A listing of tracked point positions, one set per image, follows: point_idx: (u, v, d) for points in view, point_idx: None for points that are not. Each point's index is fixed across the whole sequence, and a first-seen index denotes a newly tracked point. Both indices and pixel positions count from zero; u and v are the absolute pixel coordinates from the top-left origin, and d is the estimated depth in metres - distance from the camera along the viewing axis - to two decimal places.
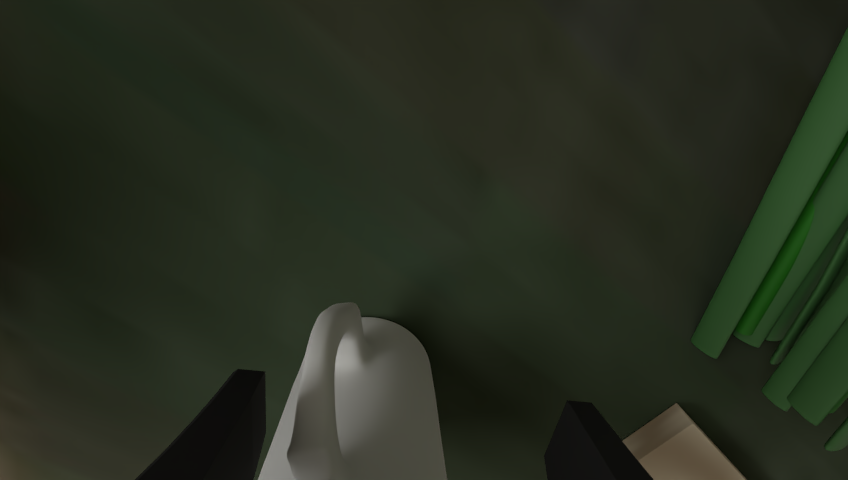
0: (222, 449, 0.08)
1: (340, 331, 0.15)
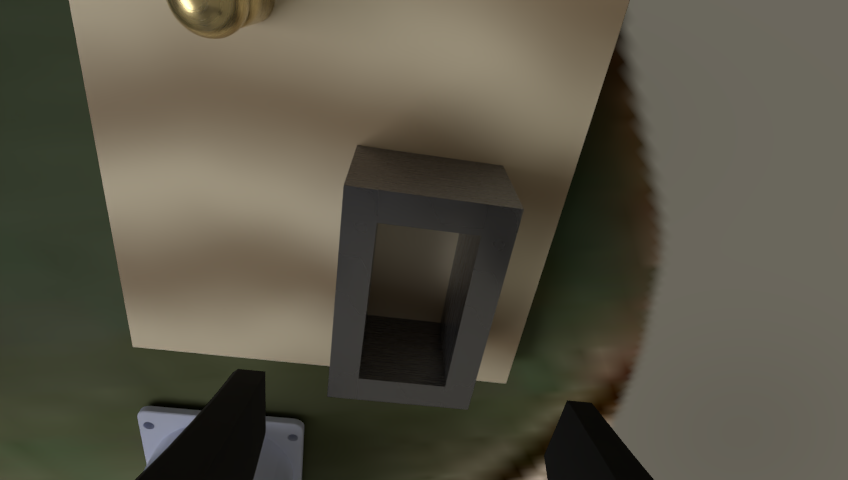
0: (222, 449, 0.08)
1: None
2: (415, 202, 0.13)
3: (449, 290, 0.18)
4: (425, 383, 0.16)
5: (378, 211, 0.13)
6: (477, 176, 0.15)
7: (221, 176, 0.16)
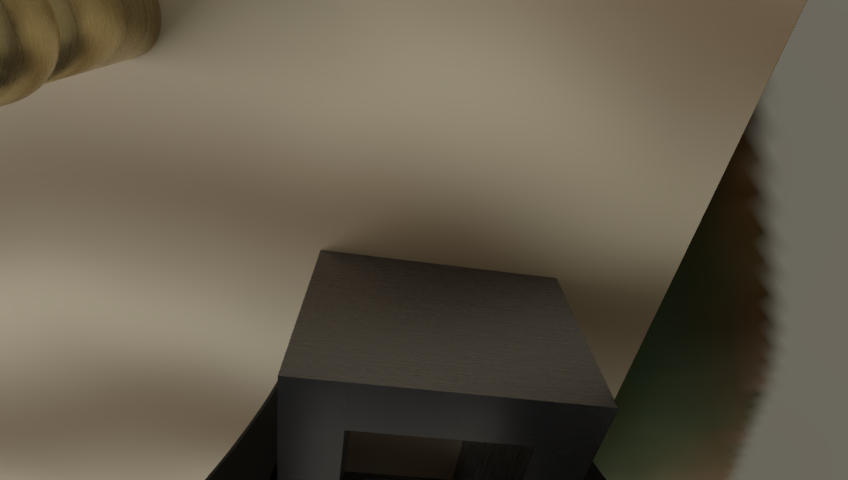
0: None
1: None
2: (416, 401, 0.07)
3: (467, 449, 0.12)
4: None
5: (346, 414, 0.07)
6: (521, 313, 0.09)
7: (104, 296, 0.10)
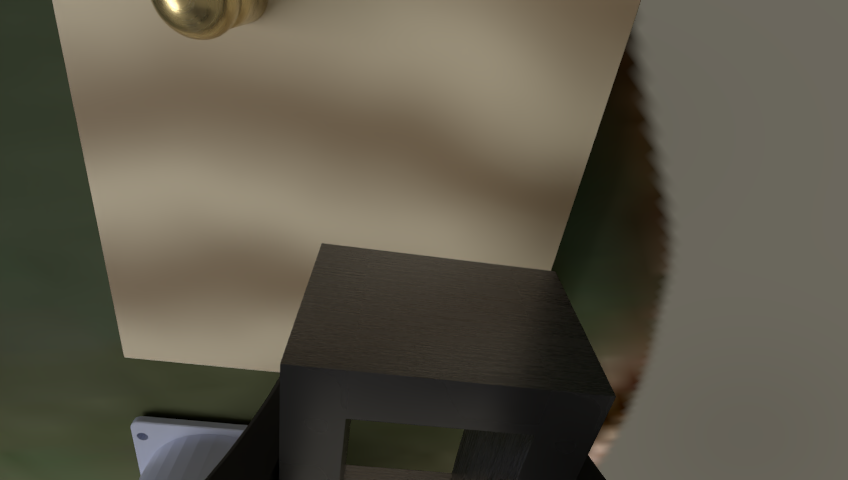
0: None
1: None
2: (416, 389, 0.07)
3: (467, 442, 0.12)
4: None
5: (347, 402, 0.07)
6: (520, 305, 0.09)
7: (213, 183, 0.16)
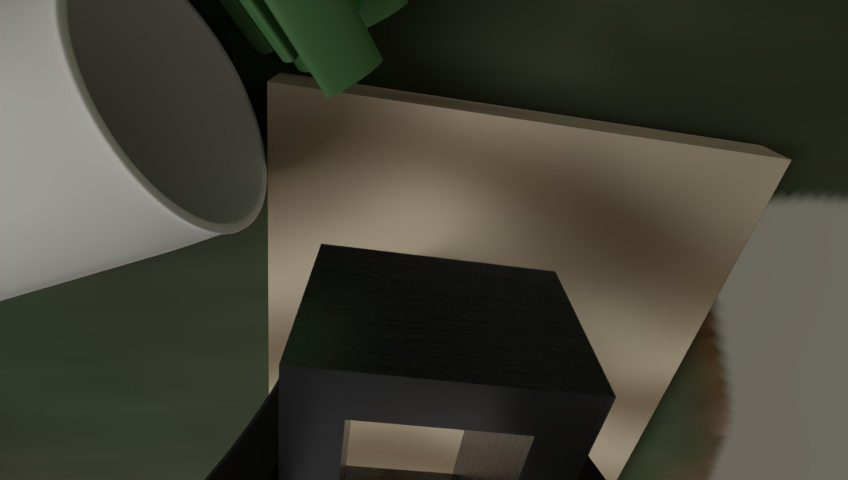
0: None
1: None
2: (415, 390, 0.07)
3: (467, 442, 0.12)
4: None
5: (347, 403, 0.07)
6: (520, 305, 0.09)
7: None
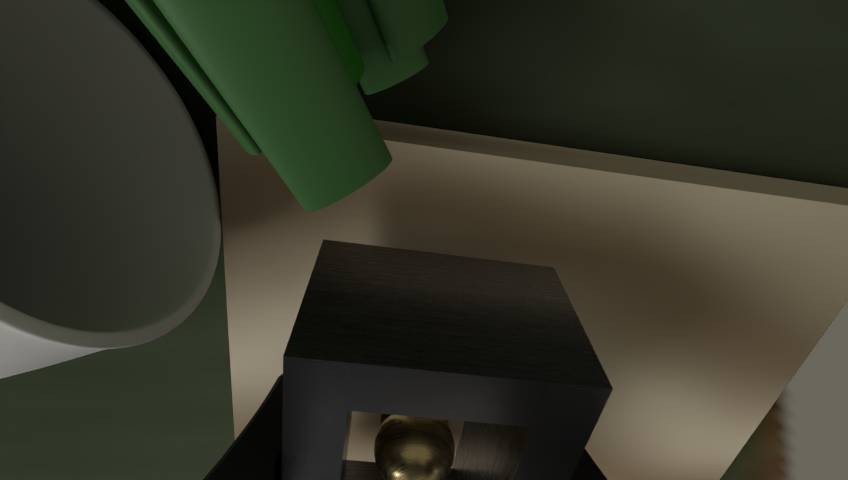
0: (280, 454, 0.08)
1: None
2: (416, 381, 0.07)
3: (466, 437, 0.12)
4: None
5: (349, 394, 0.07)
6: (519, 300, 0.09)
7: None
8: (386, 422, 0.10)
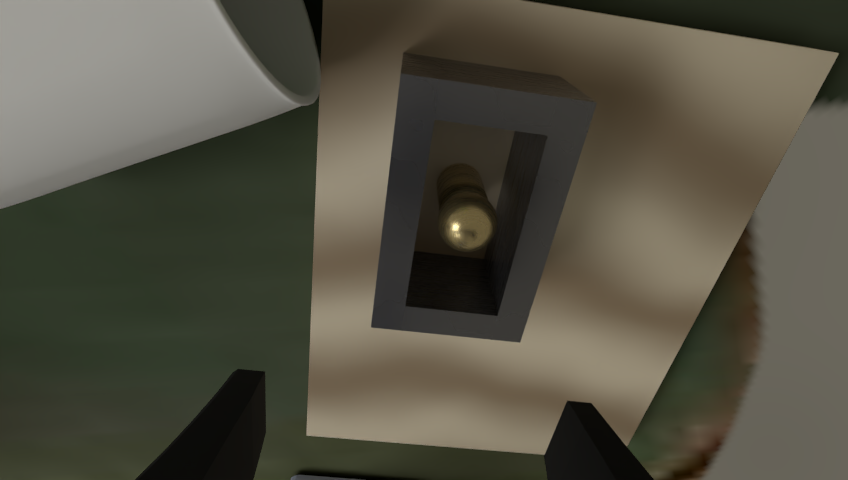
0: (222, 449, 0.08)
1: None
2: (478, 94, 0.12)
3: (497, 219, 0.17)
4: (476, 312, 0.15)
5: (437, 105, 0.12)
6: (537, 80, 0.14)
7: None
8: (447, 200, 0.14)
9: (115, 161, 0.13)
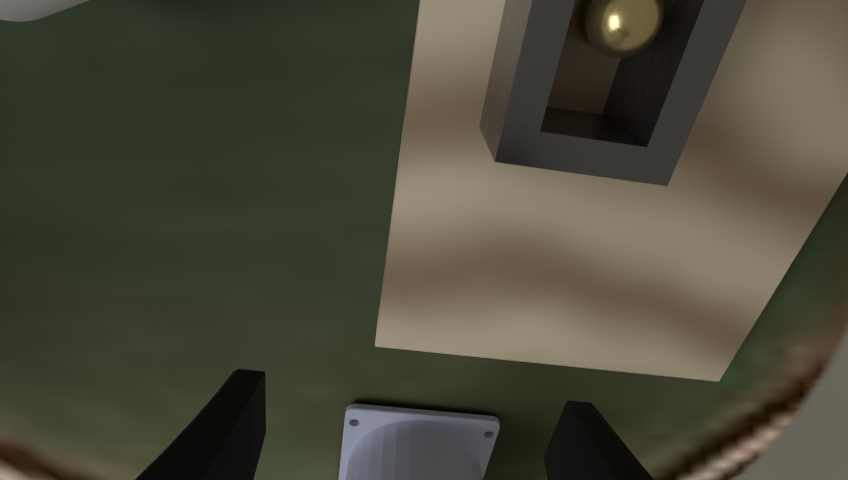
0: (222, 449, 0.08)
1: None
2: None
3: None
4: (621, 143, 0.13)
5: None
6: None
7: (509, 183, 0.17)
8: None
9: None
